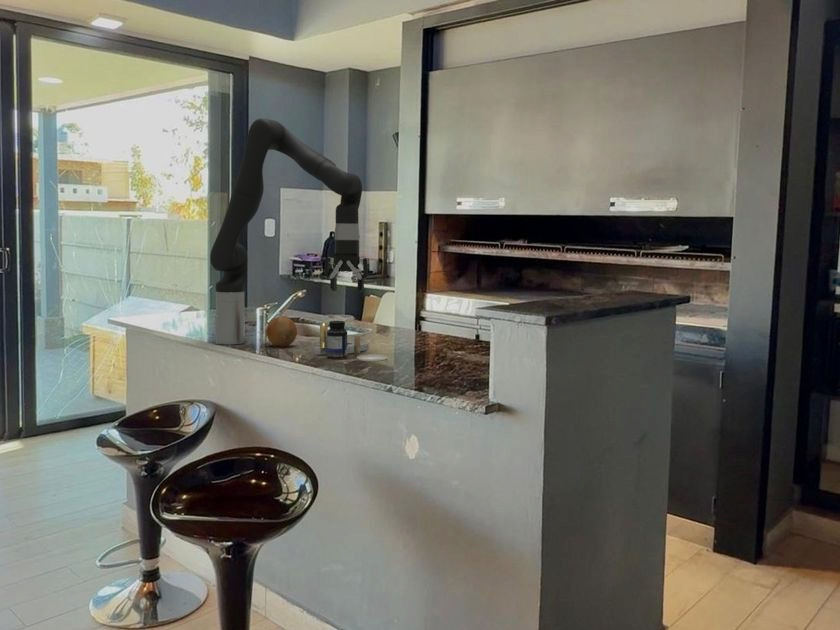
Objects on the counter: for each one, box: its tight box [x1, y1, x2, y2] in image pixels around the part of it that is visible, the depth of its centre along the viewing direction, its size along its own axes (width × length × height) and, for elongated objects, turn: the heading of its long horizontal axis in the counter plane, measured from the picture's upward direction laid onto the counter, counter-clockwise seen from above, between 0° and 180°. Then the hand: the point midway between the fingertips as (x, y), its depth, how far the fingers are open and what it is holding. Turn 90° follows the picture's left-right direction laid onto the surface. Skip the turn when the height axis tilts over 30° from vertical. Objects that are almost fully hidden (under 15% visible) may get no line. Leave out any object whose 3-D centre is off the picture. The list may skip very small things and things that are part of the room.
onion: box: [266, 315, 298, 348], centre depth 251 cm, size 10×10×10 cm
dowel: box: [353, 335, 361, 357], centre depth 235 cm, size 2×2×6 cm
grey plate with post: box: [313, 322, 370, 356], centre depth 242 cm, size 18×12×9 cm
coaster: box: [356, 353, 388, 362], centre depth 231 cm, size 9×9×1 cm
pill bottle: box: [326, 320, 348, 360], centre depth 231 cm, size 6×6×11 cm
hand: (347, 291), depth 238 cm, fingers open, 8 cm apart
